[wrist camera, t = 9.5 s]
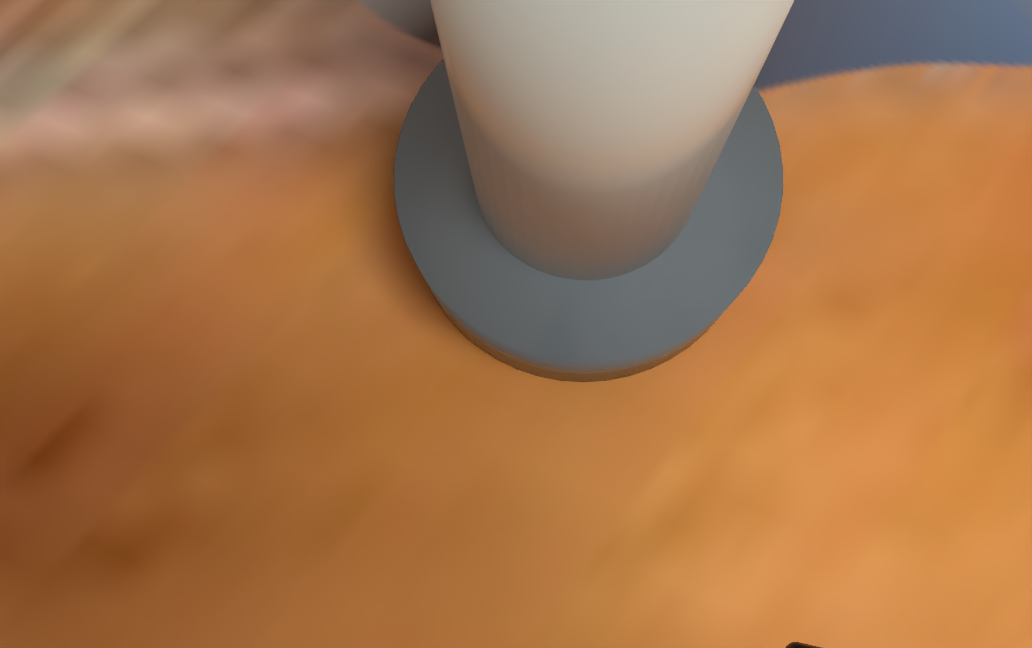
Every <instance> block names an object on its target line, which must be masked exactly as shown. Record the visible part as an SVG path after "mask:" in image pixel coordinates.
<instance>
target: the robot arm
mask: <svg viewBox="0 0 1032 648" xmlns="http://www.w3.org/2000/svg"><path fill="white" fill-rule="evenodd" d="M786 648H821V647H817V646H812V645H808V644H804V643H799V642H792V643H790V644H789V645H787V646H786Z"/></svg>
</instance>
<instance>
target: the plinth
mask: <svg viewBox="0 0 1032 648" xmlns="http://www.w3.org/2000/svg"><path fill="white" fill-rule="evenodd" d="M782 195H783V166H782V159H781V152H780V145H779V141H778V138H777V134H776V131H775V127H774V124H773V121H772V119H771V116H770V114H769V112H768V110H767V107H766V105H765V103H764V101H763V99H762V97H761V96H760V94H759V92H758V91H757V89H756V88H755V86H754V85H753V87H752V89H751V91H750V93H749V95H748V97H747V99H746V102H745V104H744V106H743V108H742V110H741V112H740V114H739V116H738V118H737V120H736V122H735V124H734V126H733V129H732V131H731V133H730V135H729V137H728V139H727V141H726V143H725V145H724V147H723V149H722V151H721V154H720V156H719V158H718V160H717V162H716V164H715V166H714V168H713V170H712V172H711V174H710V176H709V178H708V181H707V183H706V185H705V187H704V189H703V191H702V193H701V195H700V197H699V199H698V201H697V203H696V205H695V208H694V210H693V212H692V214H691V216H690V218H689V220H688V222H687V224H686V226H685V227H684V229H683V230H682V232H681V233H680V235H679V236H678V238H677V239H676V240H675V241H674V242H673V243H672V244H671V245H670V247H669V248H668V249H667V250H665V251H664V252H663V253H662V254H661V255H659V256H658V257H657V258H656V259H654V260H653V261H651V262H649V263H648V264H646V265H645V266H643V267H641V268H639V269H636V270H634V271H632V272H630V273H627V274H624V275H621V276H617V277H613V278H607V279H602V280H571V279H566V278H561V277H556V276H553V275H550V274H547V273H544V272H541V271H539V270H537V269H535V268H533V267H531V266H529V265H527V264H526V263H524V262H522V261H521V260H519V259H518V258H516V257H515V256H514V255H513V254H512V253H510V252H509V251H508V250H507V249H506V248H505V247H504V246H503V245H502V244H501V243H500V242H499V241H498V239H497V238H496V237H495V236H494V234H493V233H492V231H491V230H490V228H489V227H488V225H487V223H486V221H485V219H484V217H483V215H482V213H481V210H480V207H479V204H478V201H477V197H476V193H475V189H474V185H473V180H472V176H471V172H470V168H469V163H468V159H467V155H466V151H465V146H464V142H463V138H462V134H461V129H460V125H459V121H458V117H457V112H456V108H455V104H454V99H453V95H452V91H451V87H450V82H449V78H448V74H447V70H446V65H445V61H444V59H443V60H442V61H441V62H440V63H439V64H438V65H437V67H436V68H435V69H434V71H433V72H432V73H431V74H430V76H429V77H428V78H427V80H426V81H425V82H424V84H423V85H422V87H421V89H420V90H419V92H418V94H417V96H416V97H415V99H414V101H413V102H412V104H411V106H410V109H409V111H408V114H407V116H406V119H405V121H404V124H403V126H402V130H401V134H400V137H399V141H398V145H397V149H396V158H395V167H394V196H395V202H396V208H397V214H398V219H399V223H400V226H401V229H402V232H403V236H404V239H405V242H406V244H407V246H408V248H409V250H410V252H411V254H412V257H413V259H414V261H415V263H416V265H417V267H418V268H419V270H420V272H421V274H422V276H423V277H424V279H425V281H426V283H427V285H428V286H429V288H430V290H431V292H432V294H433V295H434V297H435V299H436V300H437V302H438V303H439V305H440V306H441V308H442V309H443V311H444V313H445V314H446V316H447V317H448V318H449V319H450V320H451V321H452V322H453V324H454V325H455V326H456V327H457V328H458V329H459V331H460V332H461V333H463V334H464V335H465V336H466V337H467V338H468V339H469V340H471V341H472V342H473V343H474V344H475V345H476V346H477V347H479V348H480V349H482V350H483V351H485V352H486V353H488V354H489V355H491V356H492V357H494V358H495V359H497V360H499V361H501V362H503V363H505V364H507V365H509V366H511V367H514V368H516V369H518V370H521V371H524V372H527V373H530V374H533V375H536V376H540V377H545V378H550V379H555V380H560V381H574V382H593V381H607V380H612V379H617V378H622V377H628V376H631V375H634V374H637V373H640V372H643V371H646V370H649V369H652V368H654V367H656V366H658V365H660V364H662V363H664V362H666V361H668V360H670V359H672V358H673V357H675V356H676V355H678V354H679V353H681V352H682V351H684V350H685V349H687V348H688V347H690V346H691V345H692V344H693V343H694V342H695V341H697V340H698V339H699V338H700V337H701V336H702V335H703V334H704V333H706V332H707V331H708V329H709V328H710V327H711V326H712V325H713V324H714V323H715V321H716V320H717V319H718V318H719V317H720V316H721V314H722V313H723V312H724V311H725V310H726V309H727V308H728V306H729V305H730V304H731V303H732V302H733V301H734V300H735V298H736V297H737V296H738V295H739V294H740V293H741V291H742V290H743V289H744V288H745V287H746V286H747V284H748V283H749V282H750V280H751V279H752V277H753V276H754V274H755V272H756V271H757V269H758V268H759V266H760V265H761V263H762V261H763V259H764V257H765V255H766V253H767V250H768V248H769V246H770V244H771V242H772V239H773V236H774V233H775V229H776V226H777V222H778V219H779V215H780V208H781V201H782Z"/></svg>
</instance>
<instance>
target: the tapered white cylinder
mask: <svg viewBox="0 0 1032 648" xmlns="http://www.w3.org/2000/svg"><path fill="white" fill-rule="evenodd" d="M430 1H431V6H432V10H433V14H434V18H435V23H436V27H437V31H438V36H439V40H440V44H441V48H442V53H443V57H444V61H445V65H446V70H447V74H448V78H449V82H450V87H451V91H452V95H453V99H454V104H455V108H456V112H457V117H458V121H459V125H460V129H461V134H462V138H463V142H464V146H465V151H466V155H467V159H468V163H469V168H470V172H471V176H472V180H473V185H474V189H475V193H476V197H477V201H478V204H479V207H480V210H481V213H482V215H483V217H484V219H485V221H486V223H487V225H488V227H489V228H490V230H491V231H492V233H493V234H494V236H495V237H496V238H497V239H498V241H499V242H500V243H501V244H502V245H503V246H504V247H505V248H506V249H507V250H508V251H509V252H510V253H512V254H513V255H514V256H515V257H516V258H518V259H519V260H521V261H522V262H524V263H526V264H527V265H529V266H531V267H533V268H535V269H537V270H539V271H541V272H544V273H547V274H550V275H553V276H556V277H561V278H566V279H571V280H602V279H607V278H613V277H617V276H621V275H624V274H627V273H630V272H632V271H634V270H636V269H639V268H641V267H643V266H645V265H646V264H648V263H649V262H651V261H653V260H654V259H656V258H657V257H658V256H659V255H661V254H662V253H663V252H664V251H665V250H667V249H668V248H669V247H670V245H671V244H672V243H673V242H674V241H675V240H676V239H677V238H678V236H679V235H680V233H681V232H682V230H683V229H684V227H685V226H686V224H687V222H688V220H689V218H690V216H691V214H692V212H693V210H694V208H695V205H696V203H697V201H698V199H699V197H700V195H701V193H702V191H703V189H704V187H705V185H706V183H707V181H708V178H709V176H710V174H711V172H712V170H713V168H714V166H715V164H716V162H717V160H718V158H719V156H720V154H721V151H722V149H723V147H724V145H725V143H726V141H727V139H728V137H729V135H730V133H731V131H732V129H733V126H734V124H735V122H736V120H737V118H738V116H739V114H740V112H741V110H742V108H743V106H744V104H745V102H746V99H747V97H748V95H749V93H750V91H751V89H752V87H753V85H754V83H755V81H756V78H757V77H758V74H759V72H760V70H761V68H762V66H763V64H764V62H765V59H766V58H767V56H768V54H769V52H770V50H771V47H772V45H773V43H774V41H775V39H776V37H777V35H778V33H779V30H780V29H781V27H782V25H783V22H784V20H785V18H786V16H787V14H788V12H789V10H790V8H791V6H792V4H793V2H794V0H430Z"/></svg>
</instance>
